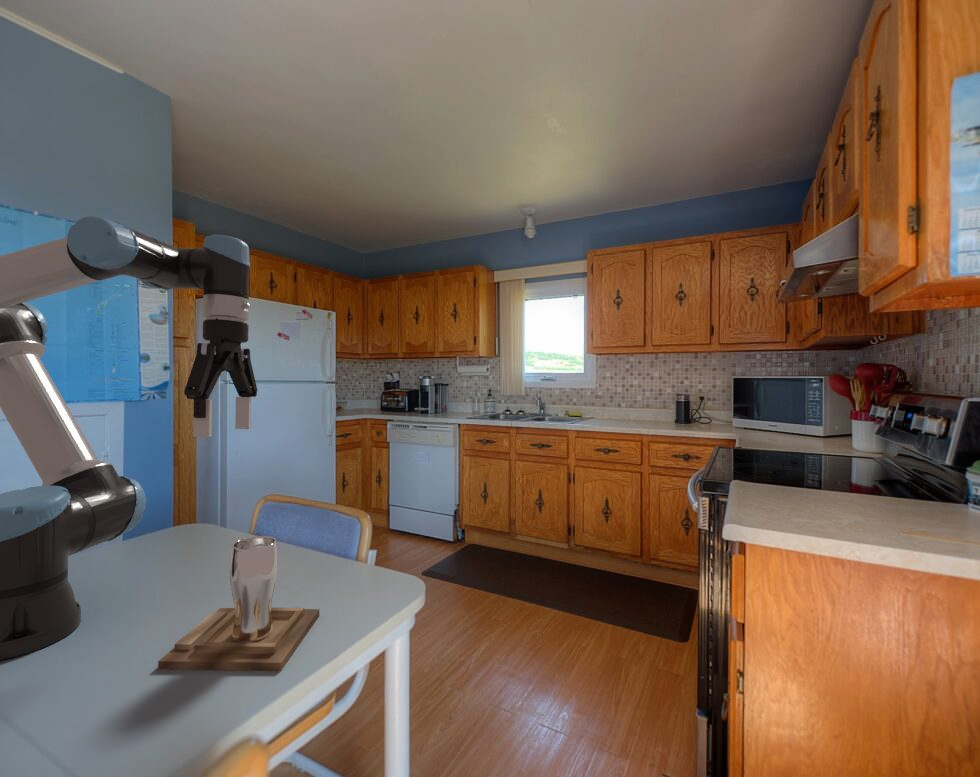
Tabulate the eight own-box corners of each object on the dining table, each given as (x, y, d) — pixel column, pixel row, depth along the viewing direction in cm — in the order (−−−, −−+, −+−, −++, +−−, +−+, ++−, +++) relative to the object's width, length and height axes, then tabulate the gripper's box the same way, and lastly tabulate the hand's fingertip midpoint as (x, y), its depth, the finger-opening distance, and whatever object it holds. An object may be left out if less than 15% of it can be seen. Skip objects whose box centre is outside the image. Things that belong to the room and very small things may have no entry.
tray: (158, 669, 67) (158, 653, 67) (220, 614, 83) (220, 601, 83) (281, 670, 68) (281, 654, 68) (319, 615, 84) (319, 602, 84)
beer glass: (256, 647, 71) (258, 552, 71) (218, 641, 73) (219, 547, 73) (285, 625, 78) (286, 537, 78) (249, 619, 80) (251, 533, 79)
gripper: (206, 310, 74) (204, 441, 75) (275, 328, 99) (273, 426, 100) (160, 309, 74) (157, 440, 74) (240, 328, 99) (239, 425, 99)
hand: (224, 432), depth 87 cm, fingers open, 13 cm apart
